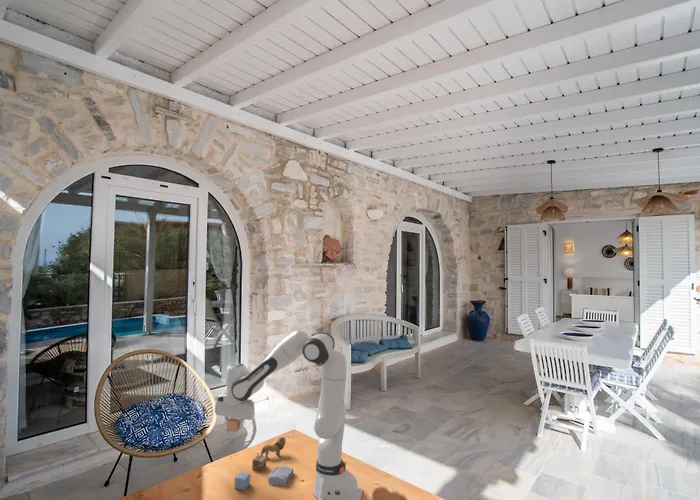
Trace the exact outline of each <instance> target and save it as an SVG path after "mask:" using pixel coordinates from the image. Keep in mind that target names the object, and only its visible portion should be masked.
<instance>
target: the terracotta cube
mask: <svg viewBox="0 0 700 500" xmlns="http://www.w3.org/2000/svg"><path fill="white" fill-rule="evenodd" d="M240 422H241V421H240V418H233V417H229V419H228V420H227V425H226V432H233V433H237V432H238V431H239V430H241V429H242V427H243V426H242V427H238V423H240Z"/></svg>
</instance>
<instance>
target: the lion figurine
mask: <svg viewBox="0 0 700 500" xmlns="http://www.w3.org/2000/svg"><path fill="white" fill-rule="evenodd" d="M286 442H287V441H286V437H284V436H281V437H279V438H278V440H277V441H276V442H275V443H274V444H265V445H264V446H263V447H262V449H261V452H260V455H261V456H264V454H265V456H266V460H270V457H268V456H269V452H272V453H274V452H275V455H276V456H278V457H279V458H281V456H282V455H281V451H282V450H284V447H285V446H286Z"/></svg>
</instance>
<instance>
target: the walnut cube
mask: <svg viewBox="0 0 700 500" xmlns="http://www.w3.org/2000/svg"><path fill="white" fill-rule="evenodd" d="M251 467H252V468H251V469H252V471H258V472H263V470H264V469H265V468H267V458H266V455H262V456H261V454H260V455H259V454H257V455H255V457H254V458H253V459H252V466H251Z"/></svg>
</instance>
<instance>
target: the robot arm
mask: <svg viewBox="0 0 700 500" xmlns="http://www.w3.org/2000/svg"><path fill="white" fill-rule="evenodd" d="M334 348H335V338H334V337H333V336H332V335H331V334H330V333H327V332H318V333H313V334H311V335H310V336H309V334H307V333H306V332H305V331H304V330H301V329H300V330H299V329H298V330H295V331H293V332H291V333H290V334H288V335H287V336H286V337H284V338H283V339H282V340H281V341H280V342H279V343H277V345H276V346H275V347H274V348H273V349H272V351H271V352H270V353H269V354H268V356H266V358H264V360H263V361H262V362H261V363H260V364H258V366H256V368H255V369H250V368H248V367H247V366H246V365H245V364H244V363H235V364H232V365H230V366H229V367H228V368H227V370H226V371H227V372H226V381H225V385H226V389H225V392H223V393H221V394H219V395H217V396H216V397H215V399H216V402H215V404H214V414H215V415H216V416H221V417H224V420H225V422H226V423H225V424H226V426H227V420H228V419H230V418H231V417H233V418H240V421H241V422H240V423H238V427H243V423H244V422H245V420H246V421H251V420H252V419H254V417H255V416H256V413H255V412H256V411H255V402H254V401H253V399H250V397H252V396H253V395H254V394H255V393H257V392H258V391H260V390H261V389H262V388H263V387H264V383H265V381H264V380H265V379H266V378H268V377H269V376H270V375H272V374H274V373H276V372H278V371H279V370H281V369H283V368H286V367H287V366H290V364H293V362H295V361H296V360H297V359H298V358H300V357H301V356H303V357H304V359H305V360H306V361H308V362H310V363H313V364H315V365H318V366H322V373H321V386H320V394H319V400H318V404H317V410H316V415H315V420H314V425H313V430H314V433H315V435H316V436H317V437H318V442H317V459H316V462H315V463H316V464H315V472H316V474H315V475H316V476H315V481H314V485H313V489H312V494H313V495H314V496H315V498H316V499H318V500H361V499H362V497H361V496H363V489H362V486H361V485H358V480H357V478H356V476H355V474H352V473H351V471H349V470H348V469H347V468H346V465H347V460H345V461H344V460H343V459H342V457H343V455H342V454H343V438H344V432H345V423H346V414H347V407H346V405H345V403H344V400H345V396H346V384H347V382H346V381H347V359H346V356H345V355H344V354H343V353H342V352H340V351H336V350H334Z"/></svg>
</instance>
